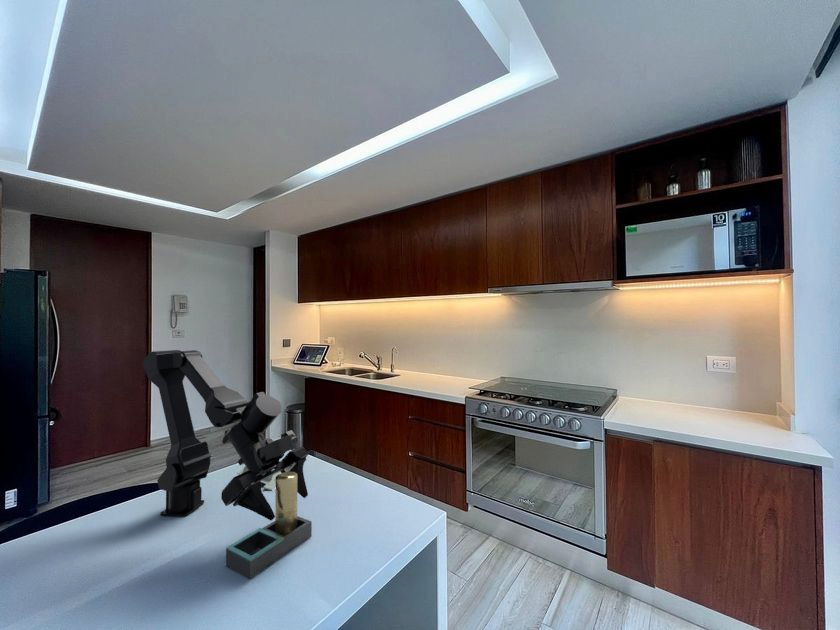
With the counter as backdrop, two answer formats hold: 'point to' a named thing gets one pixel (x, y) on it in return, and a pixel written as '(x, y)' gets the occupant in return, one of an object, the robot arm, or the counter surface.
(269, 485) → the metal bracket
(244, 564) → the hole rail
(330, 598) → the counter surface
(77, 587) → the counter surface
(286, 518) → the brass post
